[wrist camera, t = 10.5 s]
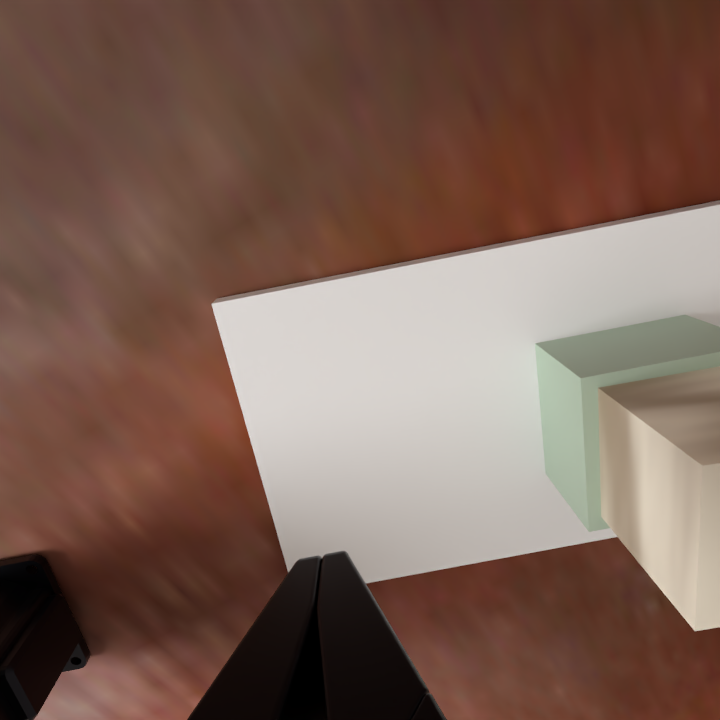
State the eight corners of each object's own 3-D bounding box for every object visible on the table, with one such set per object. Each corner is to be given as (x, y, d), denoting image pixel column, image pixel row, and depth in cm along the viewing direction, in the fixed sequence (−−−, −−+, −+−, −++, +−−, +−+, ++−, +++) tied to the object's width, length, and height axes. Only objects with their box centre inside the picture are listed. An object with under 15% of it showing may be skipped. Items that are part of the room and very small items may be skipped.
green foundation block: (545, 473, 22) (589, 532, 18) (534, 343, 20) (580, 378, 16) (682, 448, 22) (755, 501, 18) (685, 314, 20) (766, 342, 16)
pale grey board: (296, 581, 25) (295, 596, 24) (217, 298, 20) (211, 303, 19) (710, 504, 24) (725, 516, 23) (721, 200, 20) (740, 200, 19)
